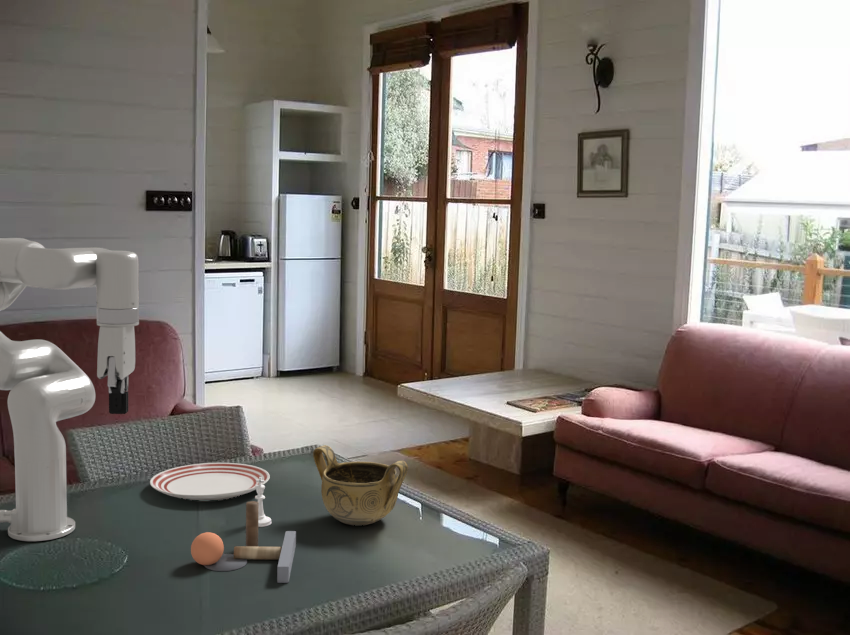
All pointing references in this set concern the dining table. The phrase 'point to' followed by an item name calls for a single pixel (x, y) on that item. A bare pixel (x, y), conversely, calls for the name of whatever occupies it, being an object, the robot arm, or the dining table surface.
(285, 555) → the back wall
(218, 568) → the pin spot
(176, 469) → the dinner plate
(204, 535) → the ball
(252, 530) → the walnut pin
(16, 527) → the robot arm
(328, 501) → the ceramic bowl
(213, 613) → the dining table surface
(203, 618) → the dining table surface
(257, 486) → the chess piece
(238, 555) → the beech pin
